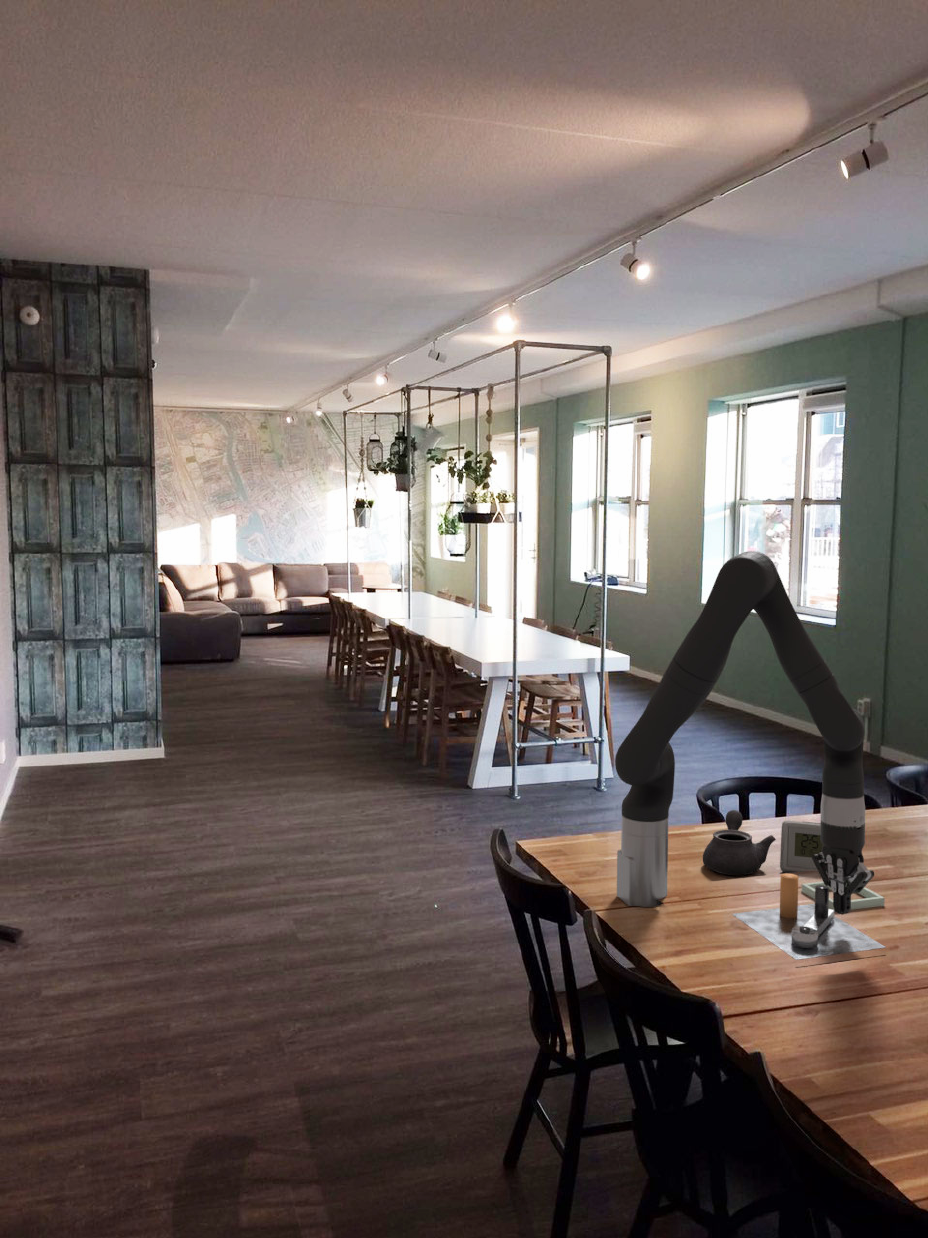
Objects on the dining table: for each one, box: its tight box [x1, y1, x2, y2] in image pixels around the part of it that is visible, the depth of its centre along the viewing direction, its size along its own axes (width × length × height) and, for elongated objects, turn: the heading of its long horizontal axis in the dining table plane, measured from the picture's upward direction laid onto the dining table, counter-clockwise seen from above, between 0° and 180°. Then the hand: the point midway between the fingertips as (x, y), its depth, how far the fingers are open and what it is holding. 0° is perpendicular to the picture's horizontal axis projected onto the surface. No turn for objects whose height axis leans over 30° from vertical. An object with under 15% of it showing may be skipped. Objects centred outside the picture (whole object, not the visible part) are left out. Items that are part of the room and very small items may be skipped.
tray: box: [800, 881, 886, 911], centre depth 204 cm, size 11×11×3 cm
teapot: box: [702, 809, 777, 876], centre depth 227 cm, size 19×15×10 cm
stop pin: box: [779, 872, 799, 918], centre depth 195 cm, size 3×3×8 cm
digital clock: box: [779, 820, 829, 877], centre depth 221 cm, size 16×9×11 cm, turn 59°
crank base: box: [731, 903, 887, 969], centre depth 188 cm, size 18×21×2 cm
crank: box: [791, 885, 835, 948], centre depth 186 cm, size 16×4×7 cm, turn 145°
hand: (842, 912), depth 187 cm, fingers closed
